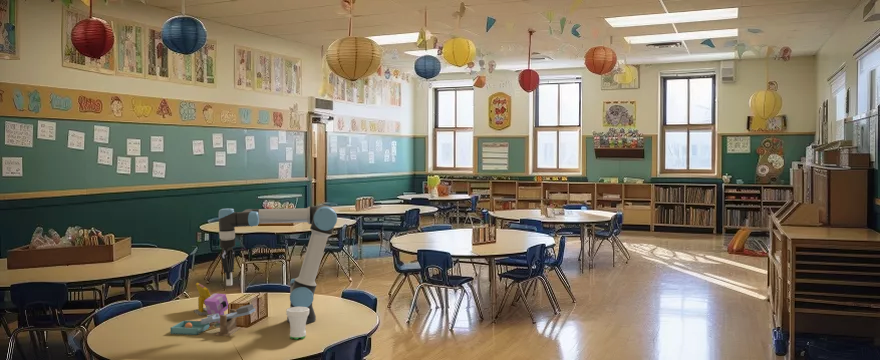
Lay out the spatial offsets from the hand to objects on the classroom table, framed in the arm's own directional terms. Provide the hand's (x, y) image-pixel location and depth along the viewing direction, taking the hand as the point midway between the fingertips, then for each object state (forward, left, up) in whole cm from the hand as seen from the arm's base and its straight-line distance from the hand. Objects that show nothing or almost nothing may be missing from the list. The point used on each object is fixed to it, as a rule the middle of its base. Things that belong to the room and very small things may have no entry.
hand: (229, 285), depth 347 cm
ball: (+21, +2, -21) cm, 30 cm away
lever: (0, +2, -15) cm, 16 cm away
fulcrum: (0, +2, -23) cm, 24 cm away
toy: (+13, -16, -24) cm, 31 cm away
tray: (+20, +2, -23) cm, 31 cm away
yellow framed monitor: (+30, -35, -24) cm, 51 cm away
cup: (-38, +8, -24) cm, 46 cm away
